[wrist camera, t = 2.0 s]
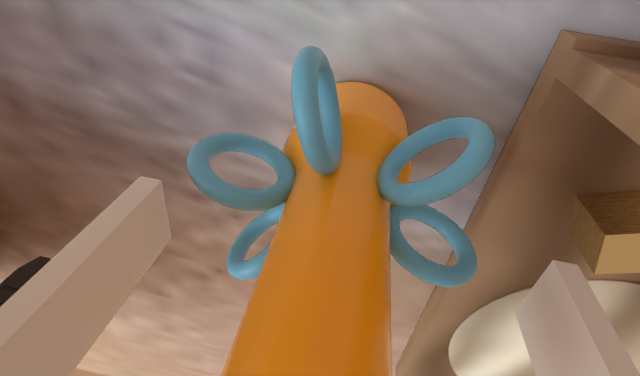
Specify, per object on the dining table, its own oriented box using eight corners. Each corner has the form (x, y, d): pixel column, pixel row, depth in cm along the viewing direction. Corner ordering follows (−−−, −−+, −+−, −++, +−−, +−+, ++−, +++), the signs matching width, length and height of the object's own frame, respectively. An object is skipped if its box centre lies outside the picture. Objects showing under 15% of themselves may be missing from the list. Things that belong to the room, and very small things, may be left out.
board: (395, 367, 32) (398, 466, 26) (561, 29, 15) (679, 91, 9) (620, 415, 31) (677, 530, 25) (1071, 110, 14) (1592, 240, 8)
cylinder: (512, 90, 17) (835, 477, 5) (406, 233, 23) (429, 563, 11) (273, -16, 16) (-97, 133, 4) (228, 164, 22) (34, 442, 10)
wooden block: (568, 231, 19) (594, 274, 17) (575, 195, 18) (605, 235, 15) (656, 226, 18) (697, 270, 16) (671, 187, 17) (719, 228, 14)
